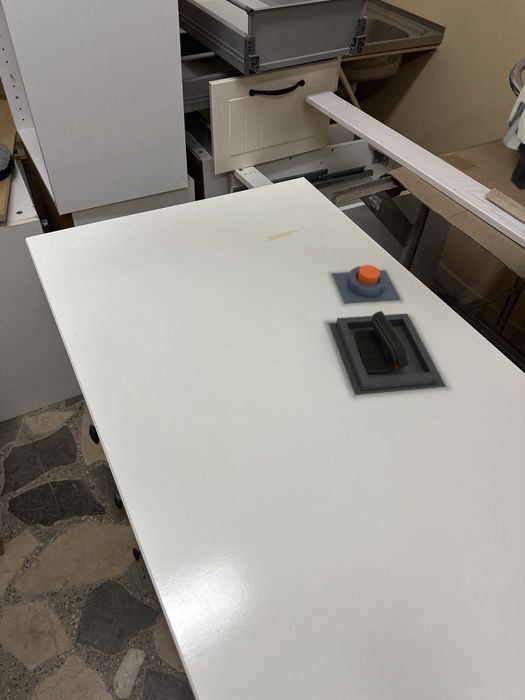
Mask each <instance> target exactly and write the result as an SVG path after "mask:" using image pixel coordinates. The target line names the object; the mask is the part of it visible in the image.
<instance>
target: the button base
mask: <svg viewBox="0 0 525 700" xmlns="http://www.w3.org/2000/svg"><path fill="white" fill-rule="evenodd" d="M360 267H361V265H359V266H356V267H353V268H352V269H351V270H350V271H347V272H333V273H331V275H332V278H333V280H334V283H335V285H336V287H337V290H338V292H339V295H340V296H341V299H342V301H343V303H344V304H361V303H377V302H391V301H392V302H393V301H394V302H395V301H401V297H400V295H399V293H398V292H397V290H396V287H395V286H394V283H393V282H392V280H391V278H390V276H389V274H388V272H387V271H386V270H385V269H384V270H380V269H379V271H380V276H379V280H378V283H377V284H375V285H366V284H362V283H361V282H359V281H358V279H357V276H358V272H359V269H360Z"/></svg>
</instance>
